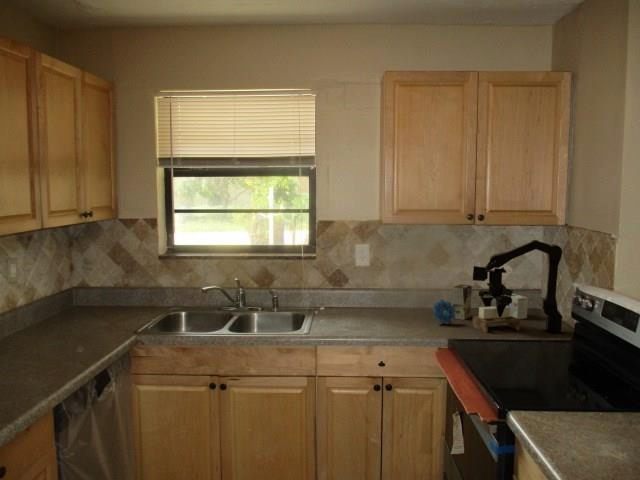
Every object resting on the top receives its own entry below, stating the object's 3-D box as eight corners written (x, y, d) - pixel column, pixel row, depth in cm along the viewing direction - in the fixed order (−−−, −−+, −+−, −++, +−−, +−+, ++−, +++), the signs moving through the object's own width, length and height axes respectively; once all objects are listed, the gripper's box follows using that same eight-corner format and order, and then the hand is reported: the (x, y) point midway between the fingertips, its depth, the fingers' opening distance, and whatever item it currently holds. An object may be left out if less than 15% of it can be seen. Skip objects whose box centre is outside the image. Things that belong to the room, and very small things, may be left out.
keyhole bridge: (519, 329, 242) (519, 319, 242) (485, 332, 238) (485, 321, 237) (505, 323, 253) (505, 313, 252) (472, 326, 248) (472, 316, 248)
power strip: (509, 322, 246) (510, 307, 246) (483, 324, 243) (483, 309, 242) (504, 320, 250) (505, 305, 249) (478, 322, 247) (479, 307, 246)
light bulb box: (501, 314, 271) (502, 294, 269) (511, 313, 273) (512, 293, 272) (517, 319, 261) (518, 298, 260) (527, 318, 264) (528, 297, 263)
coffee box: (464, 320, 260) (465, 288, 258) (452, 318, 263) (452, 286, 262) (471, 316, 267) (472, 285, 265) (458, 314, 271) (459, 283, 269)
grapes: (434, 326, 248) (435, 301, 246) (430, 323, 254) (430, 298, 253) (458, 325, 249) (459, 301, 248) (453, 322, 256) (454, 298, 254)
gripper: (523, 284, 237) (521, 318, 239) (499, 277, 255) (497, 309, 257) (501, 285, 235) (500, 319, 236) (478, 278, 253) (477, 310, 254)
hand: (494, 314), depth 246 cm, fingers open, 9 cm apart
